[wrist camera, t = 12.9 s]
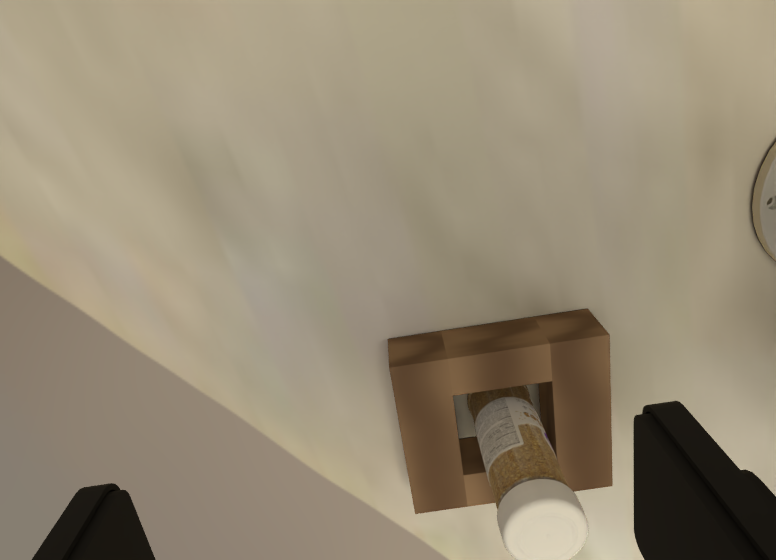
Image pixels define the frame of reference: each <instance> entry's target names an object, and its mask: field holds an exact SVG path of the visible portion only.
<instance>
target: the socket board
mask: <svg viewBox="0 0 776 560" xmlns="http://www.w3.org/2000/svg"><path fill="white" fill-rule="evenodd" d="M388 352H389V369H390V374H391V380H392V385H393V391H394V397H395V402H396V408H397V414H398V419H399V425H400V430H401V436H402V442H403V447H404V453H405V459H406V464H407V470H408V476H409V481H410V487H411V492H412V498H413V504H414V509H415V514H418V513H425V512H432V511H439V510H446V509H453V508H460V507H467V506H475V505H482V504H489V503H496V502H495V498H494V495H493V492H492V488H491V486H490V483H489V481H488V477H487V473H486V469H485V466H484V462H483V458H482V454H481V450H480V446H479V443H478V439H477V437H471V438H465V439H459V438H458V431H457V423H456V416H455V409H454V401H453V396H455V395H461V394H468V393H475V392H482V391H488V390H495V389H502V388H509V387H515V386H522V385H529V384H536V383H539V397H540V411H541V423H542V425H543V428H544V430H545V432H546V435H547V437H548V439H549V441H550V444H551V446H552V448H553V450H554V453H555V455H556V458H557V462H558V464H559V466H560V468H561V471H562V473H563V475H564V478H565V480H566V482H567V484H568V486H569V487H570V489H571V490H572V491H580V490H587V489H594V488H601V487H608V486H612V436H611V386H610V336H609V334H608V332H607V331H606V330H605V329H604V328H603V326H602V325H601V324H600V323H599V322H598V320H597V319H596V318H595V317H594V316H593V314H592V313H591V312H590V311H589V310H588V309H582V310H576V311H569V312H562V313H556V314H549V315H543V316H536V317H530V318H523V319H516V320H510V321H503V322H497V323H490V324H483V325H477V326H470V327H464V328H457V329H450V330H444V331H437V332H431V333H424V334H418V335H411V336H404V337H398V338H391V339H388Z"/></svg>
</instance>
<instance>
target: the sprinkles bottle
mask: <svg viewBox="0 0 776 560" xmlns="http://www.w3.org/2000/svg"><path fill="white" fill-rule="evenodd" d="M468 408H469V410H470V412H471V414H472V416H473V419H474V423H475V431H476V435H477V439H478V443H479V446H480V450H481V454H482V458H483V462H484V466H485V469H486V473H487V477H488V481H489V483H490V486H491V488H492V492H493V495H494V498H495V502H496V506H497V509H498V511H497V521H498V525H499V529H500V533H501V536H502V539H503V542H504V545H505V548H506V549H507V551H508V552H509V553H510V554H511V556H513V557H514V558H515V559H516V560H569V559H570V558H572V557H573V556H574V555H576V554H577V553H578V552H579V551H580V550H581V549H582V547H583V546H584V544H585V542H586V539H587V536H588V522H587V518H586V516H585V513H584V511H583V509H582V506H581V504H580V502H579V500H578V498H577V496H576V494H575V493H574V492H573V491H572V490H571V489H570V487H569V486H568V484H567V482H566V480H565V478H564V475H563V473H562V471H561V468H560V466H559V464H558V462H557V458H556V455H555V453H554V450H553V448H552V446H551V444H550V441H549V439H548V437H547V435H546V432H545V430H544V428H543V425H542V423H541V421H540V418H539V416H538V414H537V412H536V410H535V409H534V407H533V405H532V402H531V400H530V396H529V392H528V389H527V387H526V385H522V386H515V387H509V388H502V389H495V390H488V391H482V392H475V393H469V394H468Z"/></svg>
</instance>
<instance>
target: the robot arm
mask: <svg viewBox="0 0 776 560" xmlns="http://www.w3.org/2000/svg"><path fill="white" fill-rule="evenodd" d="M752 210H753V223H754V226H755V229H756V233H757V236H758V239H759V240H760V242H761V244H762V246H763V247H764V249H765V251H766V252H767V253H768V254H769V255H770V256H771V257H772V258H773V259H774V260H775V261H776V142H775V144H774V145H773V146H772V148H771V149H770V151H769V153H768V155H767V157H766V159H765V160H764V162H763V164H762V166H761V168H760V171H759V174H758V178H757V181H756V184H755V187H754V195H753V203H752ZM634 533H635V538H636V542H637V545H638V547H639V550H640V552H641V554H642V556H643V557H644V559H645V560H776V496H775V495H774V494H773V493H772V492H771V491H770V490H769V489H768V488H767V486H766V485H765V484H764V483H763V482H762V481H761V480H760V479H759V478H758V477H757V476H756V475H755V474H754V473H752V472H750V471H748V470H740V469H739V468H738V467H737V466H736V465H735V464H734V462H733V461H732V460H731V459H730V458H729V457H728V456H727V454H726V453H725V452H724V451H723V450H722V449H721V448H720V446H719V445H718V444H717V443H716V442H715V441H714V440H713V439H712V437H711V436H710V435H709V434H708V433H707V432H706V431H705V429H704V428H703V427H702V426H701V425H700V424H699V423H698V421H697V420H696V419H695V418H694V417H693V416H692V415H691V413H690V412H689V411H688V410H687V409H686V408H685V407H684V405H683V404H681V403H680V402H678V401H672V402H665V403H659V404H652V405H646V406H644V408H643V412H642V414H641V415H636V416H635V417H634ZM32 560H155V557H154V555H153V552H152V550H151V547H150V545H149V542H148V540H147V537H146V535H145V532H144V530H143V527H142V525H141V522H140V520H139V517H138V515H137V512H136V510H135V507H134V505H133V503H132V500H131V497H130V496H129V493H128V492H127V491H126V490H120V488H119V487H118V486H117V485H116V484H112V483H111V484H104V485H98V486H91V487H84V488H82V489H80V490H79V491H78V492H77V493H76V494H75V496H74V497H73V498H72V500H71V501H70V503H69V505H68V506H67V508H66V509H65V511H64V512H63V514H62V515H61V517H60V518H59V520H58V521H57V523H56V524H55V526H54V527H53V529H52V530H51V532H50V533H49V535H48V536H47V538H46V539H45V541H44V542H43V544H42V545H41V547H40V548H39V550H38V551H37V553H36V554H35V556H34V557H33V559H32Z"/></svg>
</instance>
